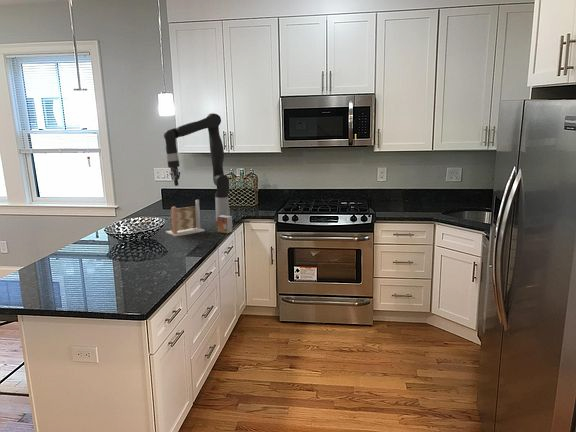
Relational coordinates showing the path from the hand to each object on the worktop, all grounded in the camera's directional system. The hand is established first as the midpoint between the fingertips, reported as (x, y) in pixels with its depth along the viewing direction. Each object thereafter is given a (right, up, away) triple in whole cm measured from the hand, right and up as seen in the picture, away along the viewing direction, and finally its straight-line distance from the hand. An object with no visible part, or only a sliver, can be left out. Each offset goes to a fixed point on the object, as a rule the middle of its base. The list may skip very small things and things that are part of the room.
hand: (176, 185), depth 309 cm
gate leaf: (+9, -30, -18) cm, 36 cm away
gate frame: (+10, -31, -16) cm, 36 cm away
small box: (+35, -31, -16) cm, 50 cm away
